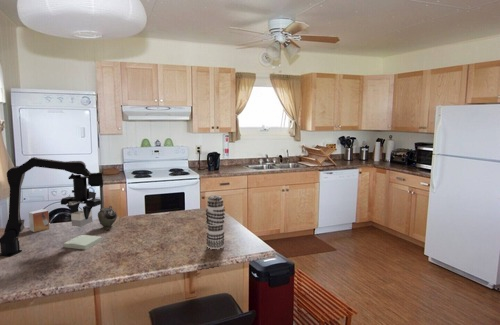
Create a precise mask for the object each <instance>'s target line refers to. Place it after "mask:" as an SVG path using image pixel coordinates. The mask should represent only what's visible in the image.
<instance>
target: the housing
mask: <svg viewBox="0 0 500 325" xmlns="http://www.w3.org/2000/svg"><path fill="white" fill-rule="evenodd" d="M70 216H71V226H72V227H81V228H82V227H84V226H86V225H88V224H91V223H93V210H92V209H91V211H90V214H89V217H88V219H85V215H84V211H83V209H80V210H78V211H77V212H75V213H72V212H71V213H70Z"/></svg>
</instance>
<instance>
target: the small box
mask: <svg viewBox="0 0 500 325" xmlns="http://www.w3.org/2000/svg"><path fill="white" fill-rule="evenodd" d="M49 215H50V212H49V210H48V209H45V208H43V209H39V210H33V211H29V212H28V219H29V231H31V232H33V233H36V232H41V231H45V230H50V216H49Z"/></svg>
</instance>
